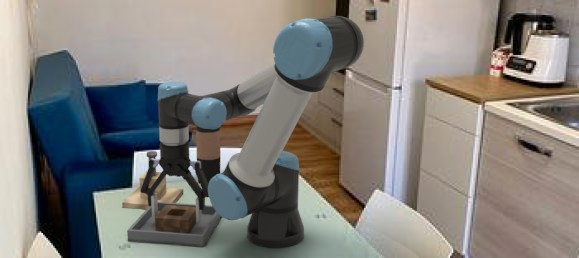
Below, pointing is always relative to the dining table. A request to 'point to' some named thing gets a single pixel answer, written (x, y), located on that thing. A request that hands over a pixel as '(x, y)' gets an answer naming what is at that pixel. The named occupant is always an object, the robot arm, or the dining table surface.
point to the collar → (176, 219)
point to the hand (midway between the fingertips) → (176, 218)
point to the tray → (146, 232)
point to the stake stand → (163, 193)
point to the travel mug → (208, 151)
